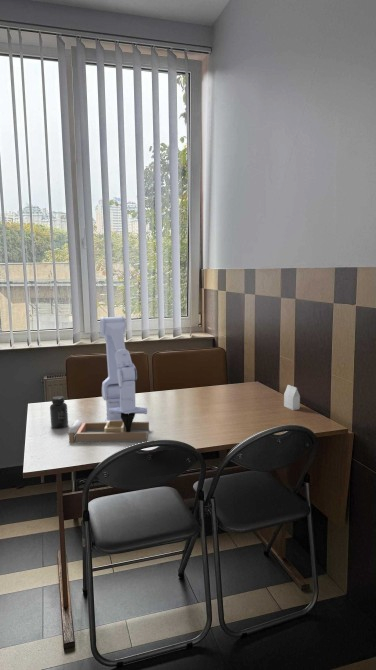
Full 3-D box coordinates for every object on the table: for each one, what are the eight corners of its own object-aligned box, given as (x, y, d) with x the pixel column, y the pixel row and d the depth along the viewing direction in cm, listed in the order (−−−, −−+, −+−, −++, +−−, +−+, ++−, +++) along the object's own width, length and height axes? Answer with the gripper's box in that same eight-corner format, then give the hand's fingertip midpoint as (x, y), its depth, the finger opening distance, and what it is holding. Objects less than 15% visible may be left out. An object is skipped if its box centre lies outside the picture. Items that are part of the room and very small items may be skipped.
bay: (75, 430, 191) (74, 418, 190) (149, 429, 191) (148, 417, 190) (67, 442, 178) (66, 430, 177) (146, 441, 178) (146, 429, 177)
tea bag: (292, 410, 215) (293, 388, 214) (283, 406, 221) (284, 385, 220) (299, 409, 217) (300, 387, 215) (290, 405, 223) (291, 384, 221)
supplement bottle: (69, 423, 200) (68, 395, 198) (66, 428, 193) (64, 399, 191) (53, 423, 200) (51, 395, 198) (49, 428, 193) (47, 400, 191)
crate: (108, 430, 189) (107, 420, 188) (126, 430, 189) (125, 420, 188) (104, 438, 180) (104, 428, 179) (123, 438, 180) (122, 428, 179)
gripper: (106, 400, 178) (108, 435, 180) (146, 400, 178) (146, 435, 180) (109, 395, 185) (110, 429, 187) (147, 395, 185) (148, 428, 187)
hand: (128, 431), depth 184 cm, fingers closed
